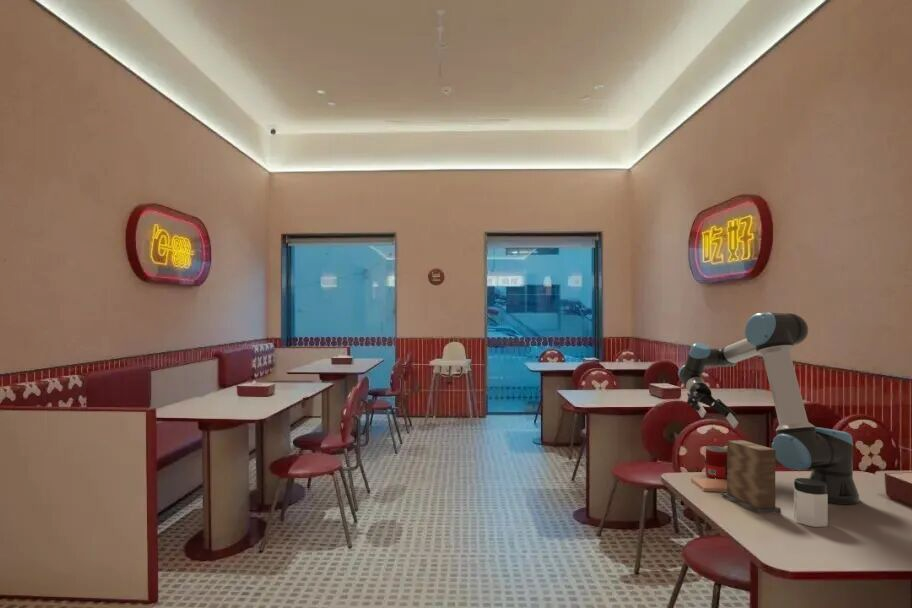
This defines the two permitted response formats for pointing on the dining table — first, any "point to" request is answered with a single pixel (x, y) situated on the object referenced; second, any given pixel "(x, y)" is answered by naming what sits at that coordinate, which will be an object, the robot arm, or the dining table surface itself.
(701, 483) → the terracotta tile
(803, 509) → the jar
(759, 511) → the wooden block
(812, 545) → the dining table surface
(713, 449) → the canned food
